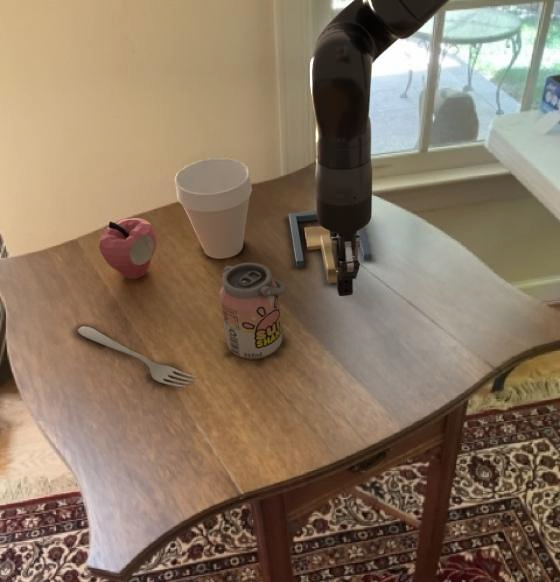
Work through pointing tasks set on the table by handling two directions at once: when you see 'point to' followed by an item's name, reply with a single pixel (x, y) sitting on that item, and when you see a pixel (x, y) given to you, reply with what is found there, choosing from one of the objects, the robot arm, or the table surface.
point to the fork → (156, 370)
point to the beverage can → (251, 310)
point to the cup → (216, 203)
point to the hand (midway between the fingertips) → (345, 292)
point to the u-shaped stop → (313, 216)
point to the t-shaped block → (322, 249)
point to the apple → (129, 246)
